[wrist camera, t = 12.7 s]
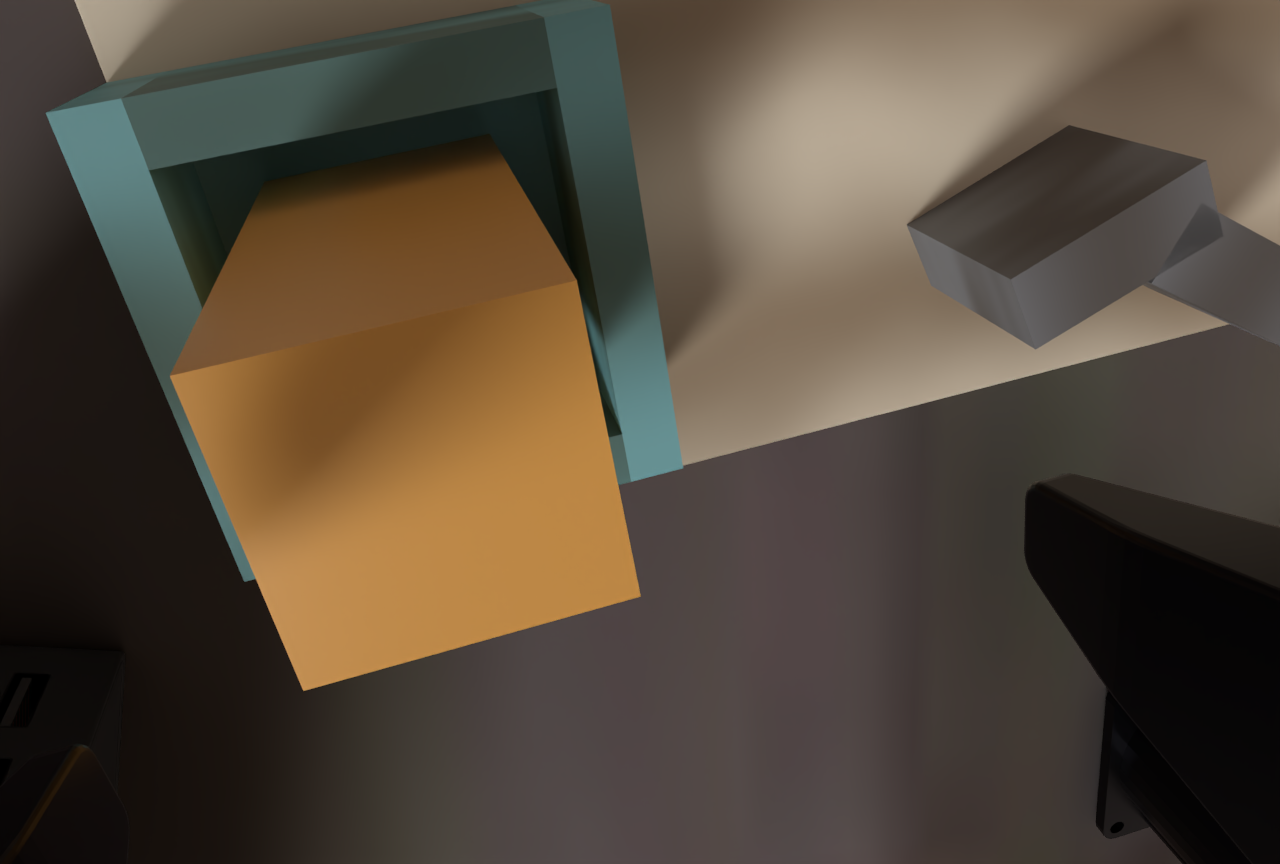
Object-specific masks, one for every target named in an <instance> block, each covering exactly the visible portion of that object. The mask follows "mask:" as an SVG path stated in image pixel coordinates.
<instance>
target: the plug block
mask: <svg viewBox="0 0 1280 864" xmlns="http://www.w3.org/2000/svg"><path fill="white" fill-rule="evenodd" d="M170 378H171V380H172V383H173V385H174V387H175V390H176V392H177V394H178V397H179V399H180V402H181V404H182V406H183V409H184V411H185V413H186V416H187V418H188V420H189V423H190V425H191V427H192V430H193V432H194V435H195V437H196V439H197V442H198V444H199V446H200V449H201V451H202V453H203V456H204V458H205V460H206V463H207V465H208V467H209V470H210V472H211V475H212V477H213V479H214V482H215V484H216V486H217V489H218V491H219V493H220V496H221V498H222V500H223V503H224V505H225V508H226V510H227V512H228V515H229V517H230V519H231V522H232V524H233V526H234V529H235V531H236V533H237V536H238V538H239V541H240V543H241V545H242V548H243V550H244V552H245V555H246V557H247V559H248V562H249V564H250V566H251V569H252V571H253V573H254V576H255V578H256V581H257V583H258V585H259V588H260V590H261V592H262V595H263V597H264V599H265V602H266V604H267V606H268V609H269V611H270V614H271V616H272V618H273V621H274V623H275V625H276V628H277V630H278V632H279V635H280V637H281V639H282V642H283V644H284V647H285V649H286V651H287V654H288V656H289V658H290V661H291V663H292V665H293V668H294V670H295V672H296V675H297V677H298V679H299V682H300V684H301V687H302V689H303V691H306V690H309V689H313V688H316V687H320V686H323V685H327V684H330V683H334V682H338V681H341V680H345V679H348V678H352V677H355V676H359V675H363V674H366V673H370V672H373V671H377V670H380V669H384V668H387V667H391V666H395V665H398V664H402V663H405V662H409V661H412V660H416V659H420V658H423V657H427V656H430V655H434V654H437V653H441V652H444V651H448V650H452V649H455V648H459V647H462V646H466V645H469V644H473V643H477V642H480V641H484V640H487V639H491V638H494V637H498V636H501V635H505V634H509V633H512V632H516V631H519V630H523V629H526V628H530V627H534V626H537V625H541V624H544V623H548V622H551V621H555V620H558V619H562V618H566V617H569V616H573V615H576V614H580V613H583V612H587V611H591V610H594V609H598V608H601V607H605V606H608V605H612V604H615V603H619V602H623V601H626V600H630V599H633V598H637V597H640V596H641V595H640V590H639V586H638V581H637V576H636V571H635V566H634V561H633V556H632V551H631V546H630V541H629V536H628V531H627V526H626V521H625V516H624V511H623V506H622V502H621V497H620V492H619V487H618V482H617V477H616V472H615V467H614V462H613V457H612V452H611V447H610V442H609V437H608V432H607V427H606V422H605V417H604V413H603V408H602V403H601V398H600V393H599V388H598V383H597V378H596V373H595V368H594V363H593V358H592V353H591V348H590V343H589V338H588V333H587V329H586V324H585V319H584V314H583V309H582V304H581V299H580V294H579V289H578V284H577V280H576V278H575V277H574V275H573V273H572V272H571V270H570V268H569V266H568V265H567V263H566V261H565V260H564V258H563V256H562V255H561V253H560V251H559V250H558V248H557V246H556V245H555V243H554V241H553V240H552V238H551V236H550V235H549V233H548V231H547V230H546V228H545V226H544V224H543V223H542V221H541V219H540V218H539V216H538V214H537V213H536V211H535V209H534V208H533V206H532V204H531V203H530V201H529V199H528V198H527V196H526V194H525V193H524V191H523V189H522V188H521V186H520V184H519V183H518V181H517V179H516V177H515V176H514V174H513V172H512V171H511V169H510V167H509V166H508V164H507V162H506V161H505V159H504V157H503V156H502V154H501V152H500V151H499V149H498V147H497V146H496V144H495V142H494V141H493V139H492V137H491V135H490V134H486V135H481V136H477V137H472V138H467V139H463V140H458V141H453V142H448V143H444V144H439V145H434V146H430V147H425V148H420V149H416V150H411V151H406V152H401V153H397V154H392V155H387V156H383V157H378V158H373V159H369V160H364V161H359V162H354V163H350V164H345V165H340V166H336V167H331V168H326V169H322V170H317V171H312V172H307V173H303V174H298V175H293V176H289V177H284V178H279V179H274V180H270V181H265V182H264V184H263V186H262V188H261V190H260V192H259V194H258V196H257V198H256V200H255V202H254V204H253V206H252V208H251V210H250V212H249V214H248V217H247V219H246V221H245V223H244V225H243V227H242V229H241V231H240V233H239V235H238V237H237V239H236V241H235V243H234V245H233V247H232V249H231V251H230V253H229V255H228V258H227V260H226V262H225V264H224V266H223V268H222V270H221V272H220V274H219V276H218V278H217V280H216V282H215V284H214V286H213V288H212V290H211V292H210V294H209V296H208V299H207V301H206V303H205V305H204V307H203V309H202V311H201V313H200V315H199V317H198V319H197V321H196V323H195V325H194V327H193V329H192V331H191V333H190V335H189V337H188V340H187V342H186V344H185V346H184V348H183V350H182V352H181V354H180V356H179V358H178V360H177V362H176V364H175V366H174V368H173V370H172V372H171V374H170Z"/></svg>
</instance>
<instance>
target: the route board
mask: <svg viewBox="0 0 1280 864" xmlns="http://www.w3.org/2000/svg"><path fill="white" fill-rule="evenodd" d="M75 3H76V5H77V8H78V10H79V13H80V15H81V18H82V20H83V23H84V26H85V28H86V31H87V33H88V36H89V38H90V41H91V44H92V46H93V49H94V51H95V54H96V56H97V59H98V61H99V64H100V67H101V69H102V72H103V74H104V77H105V79H106V82H107V83H105V84H103V85H101V86H99V87H97V88H95V89H93V90H91V91H89V92H87V93H85V94H83V95H81V96H79V97H77V98H75V99H73V100H71V101H69V102H67V103H65V104H63V105H61V106H59V107H56V108H54V109H52V110H50V111H48V112H46V115H47V117H48V120H49V122H50V124H51V127H52V129H53V132H54V134H55V136H56V139H57V141H58V143H59V146H60V148H61V150H62V153H63V155H64V158H65V160H66V162H67V165H68V167H69V169H70V172H71V174H72V176H73V179H74V181H75V183H76V186H77V188H78V191H79V193H80V195H81V198H82V200H83V202H84V205H85V207H86V209H87V212H88V214H89V217H90V219H91V221H92V224H93V226H94V228H95V231H96V233H97V235H98V238H99V240H100V242H101V245H102V247H103V250H104V252H105V254H106V257H107V259H108V261H109V264H110V266H111V268H112V271H113V273H114V276H115V278H116V280H117V283H118V285H119V287H120V290H121V292H122V294H123V297H124V299H125V301H126V304H127V306H128V309H129V311H130V313H131V316H132V318H133V320H134V323H135V325H136V327H137V330H138V332H139V335H140V337H141V339H142V342H143V344H144V346H145V349H146V351H147V353H148V356H149V358H150V360H151V363H152V365H153V368H154V370H155V372H156V375H157V377H158V379H159V382H160V384H161V386H162V389H163V391H164V394H165V396H166V398H167V401H168V403H169V405H170V408H171V410H172V412H173V415H174V417H175V419H176V422H177V424H178V427H179V429H180V431H181V434H182V436H183V438H184V441H185V443H186V445H187V448H188V450H189V453H190V455H191V457H192V460H193V462H194V464H195V467H196V469H197V471H198V474H199V476H200V478H201V481H202V483H203V486H204V488H205V490H206V493H207V495H208V497H209V500H210V502H211V504H212V507H213V509H214V512H215V514H216V516H217V519H218V521H219V523H220V526H221V528H222V530H223V533H224V535H225V537H226V540H227V542H228V545H229V547H230V549H231V552H232V554H233V556H234V559H235V561H236V563H237V566H238V568H239V571H240V573H241V575H242V578H243V580H244V582H246V581H250V580H254V579H256V578H255V576H254V573H253V571H252V569H251V566H250V564H249V562H248V559H247V557H246V555H245V552H244V550H243V548H242V545H241V543H240V541H239V538H238V536H237V533H236V531H235V529H234V526H233V524H232V522H231V519H230V517H229V515H228V512H227V510H226V508H225V505H224V503H223V500H222V498H221V496H220V493H219V491H218V489H217V486H216V484H215V482H214V479H213V477H212V475H211V472H210V470H209V467H208V465H207V463H206V460H205V458H204V456H203V453H202V451H201V449H200V446H199V444H198V442H197V439H196V437H195V435H194V432H193V430H192V427H191V425H190V423H189V420H188V418H187V416H186V413H185V411H184V409H183V406H182V404H181V402H180V399H179V397H178V394H177V392H176V390H175V387H174V385H173V383H172V380H171V378H170V374H171V372H172V370H173V368H174V366H175V364H176V362H177V360H178V358H179V356H180V354H181V352H182V350H183V348H184V346H185V344H186V342H187V340H188V337H189V335H190V333H191V331H192V329H193V327H194V325H195V323H196V321H197V319H198V317H199V315H200V313H201V311H202V309H203V307H204V305H205V303H206V301H207V299H208V296H209V294H210V292H211V290H212V288H213V286H214V284H215V282H216V280H217V278H218V276H219V274H220V272H221V270H222V268H223V266H224V264H225V262H226V260H227V258H228V255H229V253H230V251H231V249H232V247H233V245H234V243H235V241H236V239H237V237H238V235H239V233H240V231H241V229H242V227H243V225H244V223H245V221H246V219H247V217H248V214H249V212H250V210H251V208H252V206H253V204H254V202H255V200H256V198H257V196H258V194H259V192H260V190H261V188H262V186H263V184H264V182H265V181H270V180H274V179H279V178H284V177H289V176H293V175H298V174H303V173H307V172H312V171H317V170H322V169H326V168H331V167H336V166H340V165H345V164H350V163H354V162H359V161H364V160H369V159H373V158H378V157H383V156H387V155H392V154H397V153H401V152H406V151H411V150H416V149H420V148H425V147H430V146H434V145H439V144H444V143H448V142H453V141H458V140H463V139H467V138H472V137H477V136H481V135H486V134H490V135H491V137H492V139H493V141H494V142H495V144H496V146H497V147H498V149H499V151H500V152H501V154H502V156H503V157H504V159H505V161H506V162H507V164H508V166H509V167H510V169H511V171H512V172H513V174H514V176H515V177H516V179H517V181H518V183H519V184H520V186H521V188H522V189H523V191H524V193H525V194H526V196H527V198H528V199H529V201H530V203H531V204H532V206H533V208H534V209H535V211H536V213H537V214H538V216H539V218H540V219H541V221H542V223H543V224H544V226H545V228H546V230H547V231H548V233H549V235H550V236H551V238H552V240H553V241H554V243H555V245H556V246H557V248H558V250H559V251H560V253H561V255H562V256H563V258H564V260H565V261H566V263H567V265H568V266H569V268H570V270H571V272H572V273H573V275H574V277H575V278H576V280H577V284H578V289H579V294H580V299H581V304H582V309H583V314H584V319H585V324H586V329H587V333H588V338H589V343H590V348H591V353H592V358H593V363H594V368H595V373H596V378H597V383H598V388H599V393H600V398H601V403H602V408H603V413H604V417H605V422H606V427H607V432H608V437H609V442H610V447H611V452H612V457H613V462H614V467H615V472H616V477H617V482H618V485H620V484H624V483H628V482H632V481H636V480H640V479H644V478H647V477H651V476H655V475H659V474H663V473H667V472H671V471H674V470H678V469H682V468H683V465H687V464H691V463H694V462H698V461H702V460H706V459H710V458H714V457H718V456H721V455H725V454H729V453H733V452H737V451H741V450H745V449H749V448H752V447H756V446H760V445H764V444H768V443H772V442H776V441H779V440H783V439H787V438H791V437H795V436H799V435H803V434H806V433H810V432H814V431H818V430H822V429H826V428H830V427H834V426H837V425H841V424H845V423H849V422H853V421H857V420H861V419H864V418H868V417H872V416H876V415H880V414H884V413H888V412H892V411H895V410H899V409H903V408H907V407H911V406H915V405H919V404H922V403H926V402H930V401H934V400H938V399H942V398H946V397H950V396H953V395H957V394H961V393H965V392H969V391H973V390H977V389H980V388H984V387H988V386H992V385H996V384H1000V383H1004V382H1007V381H1011V380H1015V379H1019V378H1023V377H1027V376H1031V375H1035V374H1038V373H1042V372H1046V371H1050V370H1054V369H1058V368H1062V367H1065V366H1069V365H1073V364H1077V363H1081V362H1085V361H1089V360H1093V359H1096V358H1100V357H1104V356H1108V355H1112V354H1116V353H1120V352H1123V351H1127V350H1131V349H1135V348H1139V347H1143V346H1147V345H1150V344H1154V343H1158V342H1162V341H1166V340H1170V339H1174V338H1178V337H1181V336H1185V335H1189V334H1193V333H1197V332H1201V331H1205V330H1208V329H1212V328H1216V327H1220V326H1224V325H1228V324H1231V325H1233V326H1235V327H1238V328H1240V329H1242V330H1244V331H1247V332H1249V333H1251V334H1253V335H1256V336H1258V337H1260V338H1262V339H1265V340H1267V341H1269V342H1271V343H1274V344H1276V345H1278V346H1280V0H75Z"/></svg>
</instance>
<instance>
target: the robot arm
mask: <svg viewBox="0 0 1280 864" xmlns="http://www.w3.org/2000/svg"><path fill="white" fill-rule="evenodd" d="M1024 553H1025V560H1026V563H1027V566H1028V569H1029V571H1030V573H1031V575H1032V577H1033V579H1034V580H1035V582H1036V583H1037V585H1038V586H1039V588H1040V589H1041V591H1042V592H1043V594H1044V595H1045V597H1046V598H1047V600H1048V601H1049V603H1050V604H1051V606H1052V607H1053V609H1054V610H1055V612H1056V613H1057V615H1058V616H1059V618H1060V619H1061V621H1062V622H1063V624H1064V625H1065V627H1066V628H1067V630H1068V631H1069V633H1070V634H1071V636H1072V637H1073V639H1074V640H1075V642H1076V643H1077V645H1078V646H1079V648H1080V649H1081V651H1082V652H1083V654H1084V655H1085V657H1086V658H1087V660H1088V661H1089V663H1090V664H1091V666H1092V667H1093V669H1094V670H1095V672H1096V673H1097V675H1098V676H1099V678H1100V679H1101V680H1102V682H1103V683H1104V685H1105V686H1106V687H1107V689H1108V690H1109V692H1108V694H1107V697H1106V706H1105V718H1104V730H1103V742H1102V754H1101V766H1100V778H1099V790H1098V802H1097V814H1096V826H1097V827H1098V829H1099V830H1100V831H1101V832H1102V834H1103V835H1104V836H1105V837H1106V838H1110V839H1112V838H1117V837H1120V836H1123V835H1126V834H1129V833H1132V832H1135V831H1138V830H1141V829H1144V828H1147V827H1151V828H1152V830H1153V831H1154V832H1155V833H1156V834H1157V835H1158V836H1159V838H1160V839H1161V840H1162V841H1163V842H1164V843H1165V844H1166V846H1167V847H1168V848H1169V849H1170V850H1171V851H1172V852H1173V854H1174V855H1175V856H1176V857H1177V858H1178V859H1179V860H1180V861H1181V863H1182V864H1280V527H1278V526H1274V525H1270V524H1266V523H1262V522H1259V521H1255V520H1251V519H1247V518H1243V517H1239V516H1235V515H1231V514H1227V513H1224V512H1220V511H1216V510H1212V509H1208V508H1204V507H1200V506H1196V505H1192V504H1189V503H1185V502H1181V501H1177V500H1173V499H1169V498H1165V497H1161V496H1157V495H1154V494H1150V493H1146V492H1142V491H1138V490H1134V489H1130V488H1126V487H1122V486H1118V485H1115V484H1111V483H1107V482H1103V481H1099V480H1095V479H1091V478H1087V477H1083V476H1080V475H1076V474H1062V475H1058V476H1055V477H1051V478H1047V479H1044V480H1040V481H1036V482H1034V483H1033V484H1032V485H1030V486H1029V488H1028V490H1027V492H1026V498H1025V537H1024ZM129 837H130V828H129V820H128V815H127V812H126V809H125V807H124V805H123V803H122V801H121V799H120V797H119V796H118V794H117V792H116V790H115V789H114V787H113V785H112V783H111V781H110V780H109V778H108V776H107V774H106V773H105V771H104V769H103V767H102V766H101V764H100V762H99V760H98V759H97V757H96V755H95V754H94V752H93V751H92V750H91V749H90V748H89V747H87V746H85V745H82V744H73V745H70V746H66V747H62V748H59V749H55V750H51V751H48V752H44V753H40V754H37V755H35V756H33V757H31V758H30V759H29V760H28V761H26V762H25V763H24V764H23V765H22V766H21V767H20V768H19V769H18V770H17V771H16V772H15V773H14V774H13V775H11V776H10V777H9V778H8V779H7V780H6V781H5V782H4V783H3V784H2V785H1V786H0V864H127V861H128V849H129Z"/></svg>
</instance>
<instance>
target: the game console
mask: <svg viewBox="0 0 1280 864" xmlns="http://www.w3.org/2000/svg"><path fill="white" fill-rule="evenodd" d="M124 675H125V655H124V652H122V651H108V650H89V649H69V648H50V647H31V646H12V645H0V786H1V785H2V784H3V783H4V782H5V781H6V780H7V779H8V778H9V777H10V776H11V775H13V774H14V773H15V772H16V771H17V770H18V769H19V768H20V767H21V766H22V765H23V764H24V763H25V762H26V761H28V760H29V759H30V758H31V757H33V756H35V755H37V754H40V753H44V752H48V751H51V750H55V749H59V748H62V747H66V746H70V745H73V744H82V745H85V746H87V747H89V748H90V749H91V750H92V751H93V752H94V754H95V755H96V757H97V759H98V760H99V762H100V764H101V766H102V767H103V769H104V771H105V773H106V774H107V776H108V778H109V780H110V781H111V783H112V785H113V787H114V789H115V790H116V792H117V791H118V774H119V758H120V741H121V724H122V708H123V691H124Z"/></svg>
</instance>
